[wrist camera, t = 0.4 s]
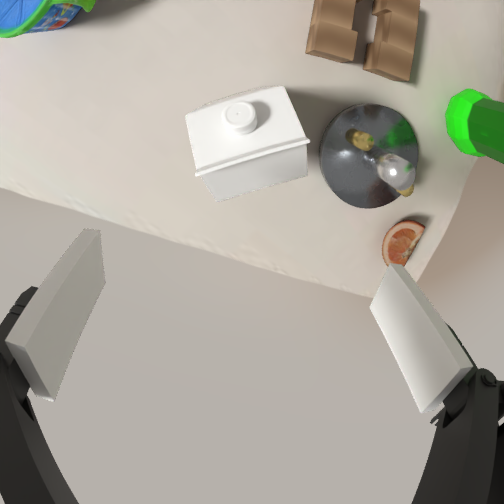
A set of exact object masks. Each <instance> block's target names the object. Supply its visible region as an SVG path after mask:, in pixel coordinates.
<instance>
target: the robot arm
mask: <svg viewBox="0 0 504 504" xmlns="http://www.w3.org/2000/svg"><path fill="white" fill-rule="evenodd" d="M104 285H105V275H104V266H103V258H102V247H101V235H100V230H94V229H84V230H83V231H82V232H81V233H80V235H79V236H78V237H77V238H76V239H75V241H74V242H73V243H72V244H71V246H70V247H69V248H68V249H67V251H66V252H65V253H64V255H63V256H62V257H61V258H60V260H59V261H58V262H57V264H56V265H55V266H54V268H53V269H52V270H51V272H50V273H49V274H48V276H47V277H46V279H45V280H44V281H43V283H42V284H41V285H40V287H39V288H37V287H32V286H31V287H30V288H29V289H27V290H26V291H25V292H23V293H22V294H21V295H20V297H19V298H18V299H17V301H16V302H15V305H14V306H13V307H12V308H11V309H10V311H9V313H8V314H7V316H6V317H5V318H4V320H3V322H2V323H1V325H0V493H1V495H2V498H3V500H4V502H5V504H79V503H78V502H77V500H76V498H75V497H74V495H73V493H72V491H71V490H70V488H69V486H68V484H67V483H66V481H65V479H64V477H63V475H62V473H61V472H60V470H59V468H58V466H57V464H56V462H55V460H54V458H53V456H52V454H51V451H50V449H49V447H48V445H47V443H46V440H45V438H44V436H43V433H42V431H41V429H40V426H39V424H38V421H37V419H36V416H35V413H34V411H33V408H32V405H31V402H30V400H29V398H28V396H27V392H28V390H29V388H30V387H31V389H32V390H33V392H34V393H35V395H36V396H38V397H41V398H44V399H47V400H50V401H53V402H54V401H55V399H56V396H57V393H58V390H59V388H60V385H61V382H62V380H63V377H64V374H65V372H66V369H67V367H68V364H69V362H70V359H71V357H72V354H73V352H74V349H75V347H76V345H77V343H78V340H79V338H80V336H81V333H82V331H83V329H84V327H85V325H86V322H87V320H88V318H89V316H90V314H91V312H92V309H93V307H94V305H95V303H96V301H97V299H98V297H99V295H100V293H101V291H102V289H103V287H104ZM370 310H371V311H372V313H373V315H374V317H375V319H376V321H377V323H378V325H379V327H380V329H381V330H382V333H383V334H384V336H385V338H386V340H387V342H388V344H389V346H390V349H391V350H392V352H393V355H394V357H395V359H396V361H397V363H398V365H399V367H400V369H401V371H402V373H403V375H404V378H405V380H406V382H407V384H408V386H409V388H410V391H411V393H412V395H413V397H414V400H415V402H416V404H417V406H418V408H419V411H420V413H425V412H429V411H433V410H434V409H435V408H436V407H437V406H438V405H439V404H440V403H441V402H442V401H443V403H444V405H445V407H444V408H443V409H442V410H441V411H440V412H439V413H438V414H437V415H436V416H435V417H434V418H433V419H432V420H431V422H430V423H431V424H432V423H433V422H434V421H435V420H436V419H439V420H438V422H437V423H436V424H435V426H437V428H436V432H435V436H434V440H433V443H432V447H431V450H430V453H429V457H428V460H427V463H426V466H425V469H424V472H423V475H422V478H421V481H420V483H419V486H418V489H417V491H416V494H415V496H414V499H413V501H412V504H504V423H503V424H502V425H500V426H499V424H498V421H499V420H500V419H501V418H502V417H503V416H504V381H498V380H496V377H495V376H494V375H493V374H492V373H491V372H490V371H489V370H487V369H484V368H481V369H478V368H477V366H476V365H475V363H474V361H473V360H472V358H471V357H470V355H469V354H468V352H467V350H466V349H465V348H464V346H462V343H461V341H460V340H459V339H458V337H457V335H456V334H455V332H454V331H453V329H451V327H450V326H449V325H447V324H446V323H445V322H444V321H443V319H442V318H441V316H440V315H439V313H438V312H437V311H436V309H435V308H434V307H433V305H432V304H431V302H430V301H429V299H428V298H427V297H426V296H425V294H424V293H423V291H422V290H421V289H420V288H419V286H418V285H417V283H416V282H415V281H414V280H413V278H412V277H411V276H410V274H409V273H408V272H407V271H406V269H405V268H404V267H403V265H401V264H393V263H390V264H389V266H388V268H387V270H386V273H385V275H384V277H383V279H382V282H381V284H380V286H379V288H378V290H377V293H376V295H375V297H374V299H373V301H372V303H371V305H370Z"/></svg>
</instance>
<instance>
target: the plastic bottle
mask: <svg viewBox="0 0 504 504" xmlns="http://www.w3.org/2000/svg"><path fill="white" fill-rule="evenodd" d="M445 117H446V125H447V132H448V135H449V136H450V137H451V139H452V140H453V142H454V143H455V145H456V146H457V147H458V149H459V150H460V151H461V152H463V153H465V154H469V155H474V156H478V157H481V156H488V157H490V158H492V159H494V160H496V161H499V162H501V163H503V164H504V103H502V102H498V101H494V100H492V99H491V98H490V97H488V96H487V95H485V94H483V93H481V92H478V91H476V90H473V89H465V90H463V91H462V92H460V93H458V94H457V95H455V96H453V97H452V98H451V100H450V102H449V105H448V108H447V111H446V113H445Z"/></svg>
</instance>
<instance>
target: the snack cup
mask: <svg viewBox="0 0 504 504" xmlns="http://www.w3.org/2000/svg"><path fill="white" fill-rule="evenodd" d="M95 2H96V0H0V37H3V38H10V37H16V36H18V35H22V34H25V33H34V32H44V31H53V30H56V29H60V28H62V27H64V26H65V25H66V24H67V23H69V22H70V21H71V20H72V19H73V18H74V17H75V15H76V14H77V13H78V11H79V10H80V9H81V8H82V7H83V8H84V10H85V11H86V12H90V11H91V10H92V8H93V7H94V4H95Z"/></svg>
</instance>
